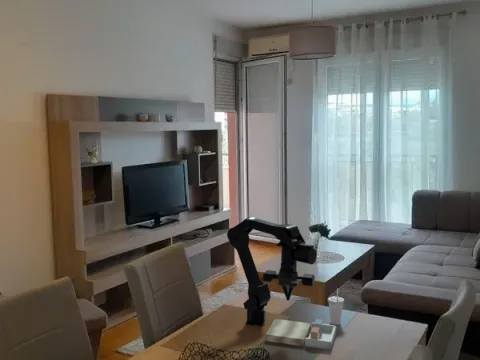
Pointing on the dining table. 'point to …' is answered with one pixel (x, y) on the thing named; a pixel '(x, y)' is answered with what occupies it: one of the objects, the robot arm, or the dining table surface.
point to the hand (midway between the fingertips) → (288, 300)
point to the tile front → (315, 333)
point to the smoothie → (335, 308)
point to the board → (288, 332)
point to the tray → (322, 338)
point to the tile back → (318, 325)
